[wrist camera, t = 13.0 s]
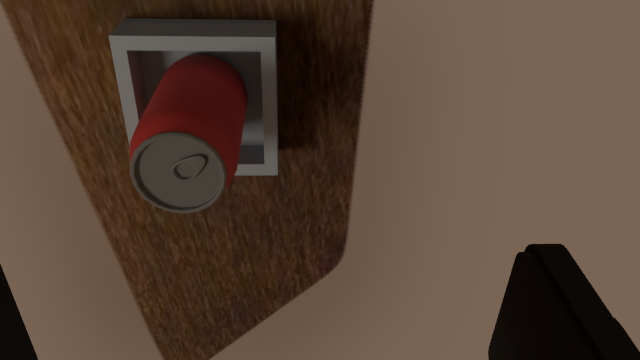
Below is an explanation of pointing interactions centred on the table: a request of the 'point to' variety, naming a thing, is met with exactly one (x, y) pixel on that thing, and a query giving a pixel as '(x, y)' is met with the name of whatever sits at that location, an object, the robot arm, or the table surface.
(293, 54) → the table surface
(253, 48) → the tray
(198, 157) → the beer can
